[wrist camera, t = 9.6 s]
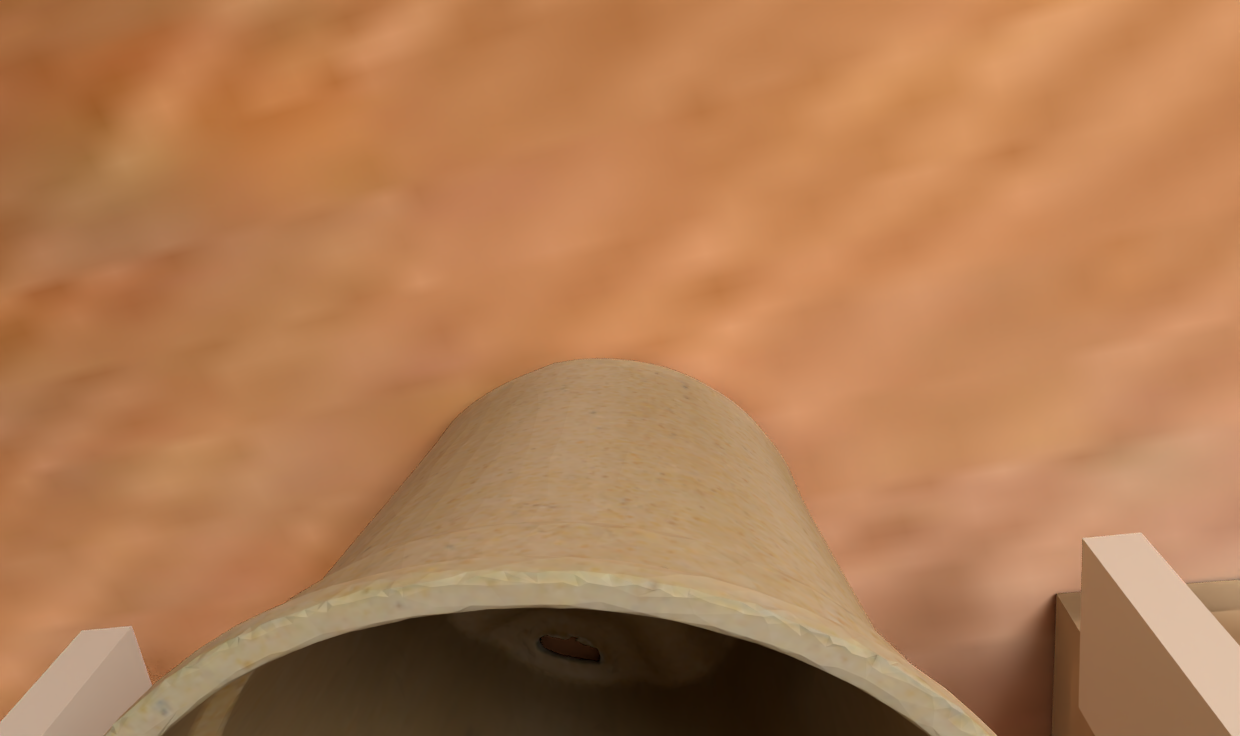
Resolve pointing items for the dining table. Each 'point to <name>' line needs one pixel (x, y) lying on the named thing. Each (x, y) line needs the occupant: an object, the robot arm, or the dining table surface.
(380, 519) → the flower pot
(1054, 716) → the wooden serving tray
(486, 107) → the dining table surface
